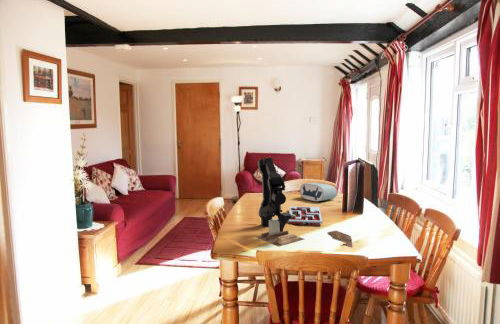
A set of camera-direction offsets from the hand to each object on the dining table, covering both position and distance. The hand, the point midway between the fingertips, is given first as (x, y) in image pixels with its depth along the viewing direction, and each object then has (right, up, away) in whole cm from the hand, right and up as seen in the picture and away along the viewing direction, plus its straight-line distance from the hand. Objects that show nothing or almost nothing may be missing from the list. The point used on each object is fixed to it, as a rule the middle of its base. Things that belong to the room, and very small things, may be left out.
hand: (275, 229), depth 187 cm
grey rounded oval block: (+40, +6, +91) cm, 100 cm away
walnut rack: (+2, -5, -3) cm, 6 cm away
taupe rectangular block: (0, -4, 0) cm, 4 cm away
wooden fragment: (+35, -5, -1) cm, 35 cm away
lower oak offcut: (+6, -4, -7) cm, 10 cm away
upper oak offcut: (+5, -3, -8) cm, 10 cm away
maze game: (+22, -1, +39) cm, 45 cm away
